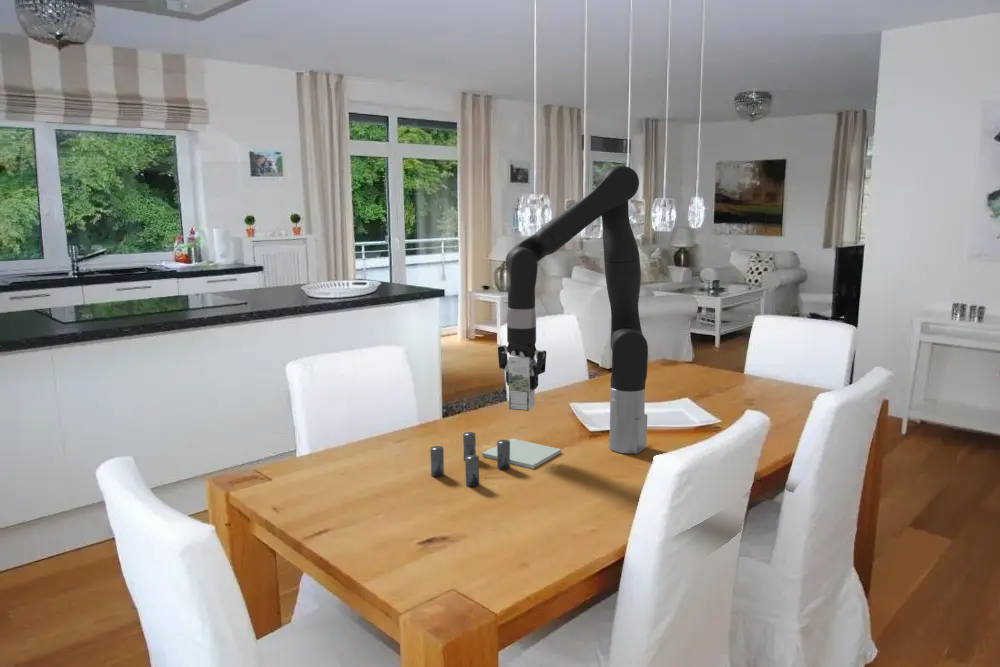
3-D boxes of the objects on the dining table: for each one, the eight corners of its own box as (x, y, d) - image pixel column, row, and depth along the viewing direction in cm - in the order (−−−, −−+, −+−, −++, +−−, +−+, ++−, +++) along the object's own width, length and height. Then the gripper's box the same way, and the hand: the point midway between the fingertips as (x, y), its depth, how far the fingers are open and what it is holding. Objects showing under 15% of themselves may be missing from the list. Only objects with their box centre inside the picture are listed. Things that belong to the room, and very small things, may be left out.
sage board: (561, 452, 189) (561, 449, 189) (532, 468, 178) (532, 465, 178) (512, 441, 198) (512, 438, 198) (482, 456, 187) (482, 452, 187)
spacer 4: (512, 467, 179) (512, 441, 178) (505, 471, 177) (505, 444, 175) (502, 464, 181) (502, 438, 180) (495, 468, 178) (494, 442, 177)
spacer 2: (478, 458, 185) (477, 433, 184) (470, 462, 183) (470, 436, 182) (468, 456, 187) (468, 431, 186) (461, 459, 185) (460, 434, 183)
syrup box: (535, 405, 187) (535, 352, 185) (529, 411, 182) (528, 357, 179) (515, 403, 189) (514, 351, 187) (508, 410, 184) (507, 356, 181)
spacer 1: (446, 474, 175) (446, 447, 174) (438, 478, 172) (437, 451, 171) (436, 471, 177) (436, 445, 176) (428, 475, 174) (427, 448, 173)
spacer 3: (481, 484, 169) (481, 456, 167) (473, 488, 166) (473, 460, 165) (471, 481, 171) (470, 453, 169) (463, 485, 168) (462, 457, 167)
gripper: (552, 325, 180) (552, 388, 183) (507, 320, 189) (507, 380, 192) (537, 329, 174) (537, 394, 177) (490, 324, 183) (491, 386, 186)
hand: (521, 386), depth 185 cm, fingers closed on syrup box, 6 cm apart
